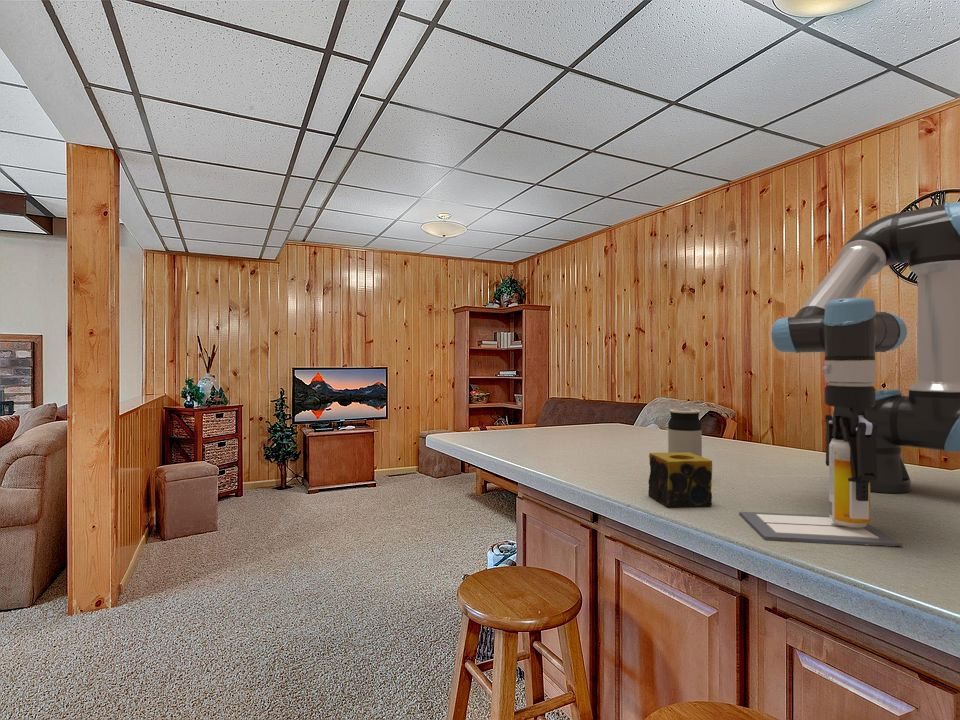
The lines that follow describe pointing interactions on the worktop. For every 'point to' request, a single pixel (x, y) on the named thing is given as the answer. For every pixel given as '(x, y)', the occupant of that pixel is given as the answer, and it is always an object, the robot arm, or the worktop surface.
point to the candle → (680, 479)
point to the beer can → (841, 485)
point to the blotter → (813, 529)
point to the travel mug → (685, 431)
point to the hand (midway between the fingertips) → (849, 512)
